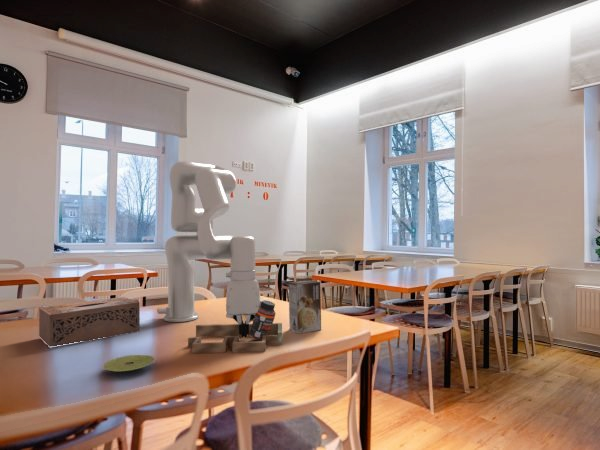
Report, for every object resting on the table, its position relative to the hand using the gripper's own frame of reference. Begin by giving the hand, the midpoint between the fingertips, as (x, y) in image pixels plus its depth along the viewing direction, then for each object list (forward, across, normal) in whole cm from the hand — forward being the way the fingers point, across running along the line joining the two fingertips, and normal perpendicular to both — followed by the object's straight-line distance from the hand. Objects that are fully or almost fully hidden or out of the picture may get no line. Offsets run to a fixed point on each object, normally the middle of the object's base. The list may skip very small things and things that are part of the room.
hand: (244, 336), depth 117 cm
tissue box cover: (+1, -51, +10) cm, 52 cm away
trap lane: (+1, -2, -2) cm, 3 cm away
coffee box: (+2, +19, +11) cm, 22 cm away
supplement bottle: (+1, +4, 0) cm, 4 cm away
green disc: (+1, -26, -22) cm, 34 cm away
